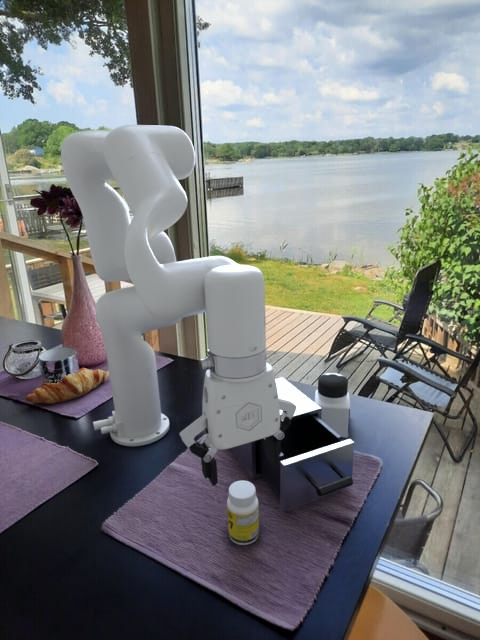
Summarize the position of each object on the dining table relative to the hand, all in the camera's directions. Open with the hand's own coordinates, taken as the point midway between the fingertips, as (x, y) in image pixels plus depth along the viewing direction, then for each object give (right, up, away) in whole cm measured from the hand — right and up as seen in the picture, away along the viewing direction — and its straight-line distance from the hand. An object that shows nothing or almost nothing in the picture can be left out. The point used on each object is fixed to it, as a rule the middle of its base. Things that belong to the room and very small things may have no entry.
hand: (242, 469), depth 63 cm
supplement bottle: (0, -11, +4) cm, 12 cm away
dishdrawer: (+5, -4, +25) cm, 26 cm away
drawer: (+11, -7, +13) cm, 19 cm away
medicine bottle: (+19, -2, +31) cm, 36 cm away
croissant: (-43, +3, +49) cm, 66 cm away
